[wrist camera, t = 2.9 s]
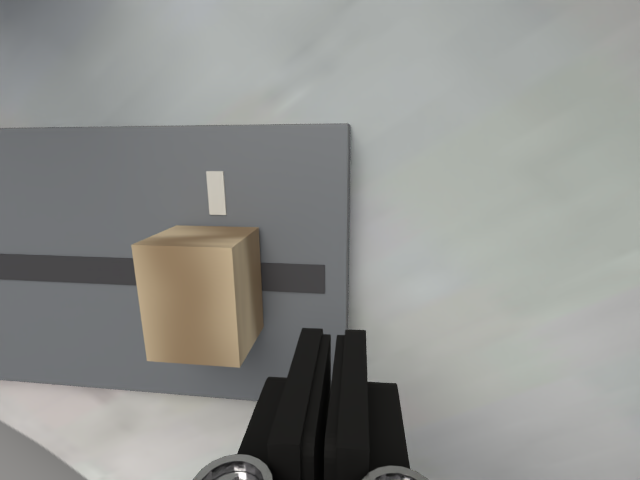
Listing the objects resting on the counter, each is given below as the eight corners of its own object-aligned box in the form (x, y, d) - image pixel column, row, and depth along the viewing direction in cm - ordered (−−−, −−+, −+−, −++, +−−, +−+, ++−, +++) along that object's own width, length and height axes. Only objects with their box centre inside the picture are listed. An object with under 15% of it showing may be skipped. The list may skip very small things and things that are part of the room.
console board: (350, 125, 18) (347, 123, 16) (347, 384, 22) (344, 409, 19) (-116, 131, 21) (-167, 130, 19) (-53, 354, 25) (-90, 373, 23)
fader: (258, 227, 17) (231, 247, 14) (263, 326, 19) (239, 367, 15) (176, 225, 18) (131, 244, 15) (186, 322, 19) (146, 361, 16)
